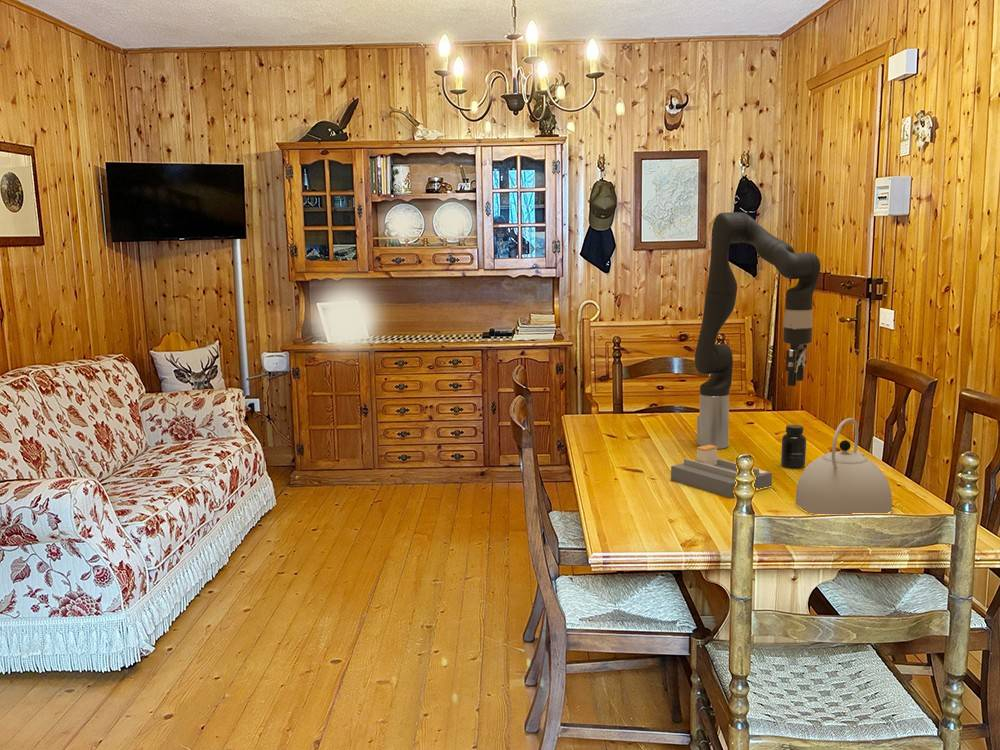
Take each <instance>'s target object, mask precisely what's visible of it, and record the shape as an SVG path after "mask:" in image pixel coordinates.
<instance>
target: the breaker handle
mask: <svg viewBox="0 0 1000 750" xmlns="http://www.w3.org/2000/svg"><path fill="white" fill-rule="evenodd" d="M717 458H718V449H717V446H713V445H705V446H698V447H696V460H697V461H698V462H702V463H705V464H709V465H717Z"/></svg>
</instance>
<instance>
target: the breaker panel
mask: <svg viewBox="0 0 1000 750" xmlns="http://www.w3.org/2000/svg"><path fill="white" fill-rule="evenodd" d="M735 463H736V462H735V461H730V460H726V459H722V458H719V457H717V465H709V464H705V463H702V462H698V461H697V459H690V458H683V462H682V463H679V464H673V465H671V466H670V481H674V482H677V483H681V484H683V485H687V486H689V487H694V488H696V489H697V488H698V489H700V490H702V491H707V492H709V493H713V494H716V495H719V496H722V497H726V498H729V499H735V497H734V493H733V490H734V487H735V484H736V481H735V476H736V474H737V468H736V464H735ZM753 472H754V475H755V477H756V480H755V483H754V487H755V490H756V488H758V489H760V488H764V487H769V486H772V484H773V481H772V480H773V479H772V478H773V472H770V471H766V470H764V469H763V470H762V469H760V468H757V467H754V469H753Z"/></svg>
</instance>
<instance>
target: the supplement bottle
mask: <svg viewBox="0 0 1000 750" xmlns="http://www.w3.org/2000/svg"><path fill="white" fill-rule="evenodd" d="M806 455H807V438H806V436H805V435H804V426H802V425H799V424H787V425H786V426H785V434H783V435H782V437H781V455H780V456H781V457H780V463H781V464H780V465H781V466H782V467H784V468H787V467H788V468H789V469H803V468H804V467H805V466H806ZM802 467H803V468H802ZM788 468H787V469H788Z"/></svg>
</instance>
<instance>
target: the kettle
mask: <svg viewBox="0 0 1000 750" xmlns="http://www.w3.org/2000/svg"><path fill="white" fill-rule="evenodd" d="M849 422H852V423H853V427H854V444H853V450H852V452H851V451H849V450H850V449H851V447H852V446H851V443H850V441H848V440H845V439H844V440H841V441H840V443H839V446H838V447H839V448H840V451H836V447H837V441H838V437H839V434H840V432H841V429H842V428H843V426H844V425H845V424H846V423H849ZM858 445H859V426H858V423H857V420H856V419H855V418H852V417H849V418H846V419H845V418H844V419H843V420H842V421H841V422H840V423H839V424H838V426H837V428H836V430H835V433H834V435H833V439H832V445H831V452H827V453H824V454H822V455H821V456H818V457H817V458H816V459H814V460H812V461H811V462H810V463H809V464H808V465H807V466H806V467H805V468H804V470H803V471H802V472H801V474H800V476H799V479H798V482H797V485H796V490H795V501H796V504H797V505H798V506H799V507H801V508H802V509H803V510H805V511H807V512H808V513H807V514H809V513H813V514H852V513H888V512H890V511H891V510H892V511H893V509H892V508H893V507H892V505H893V504H892V503H893V501H892V500H893V497H892V496H893V495H892V491H891V486H890V483H889V481H888V479H887V477H886V475H885V473H884V472H883V471H882V470H881V468H880V467H879V466H878V465H876V464H875V463H874V462H873V461H872V460H871V459H869V458H867V457H866V456H865V455H866V454H865V453H864V452H861V451H858ZM796 504H795V505H796ZM813 514H811V516H814V515H813Z"/></svg>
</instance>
